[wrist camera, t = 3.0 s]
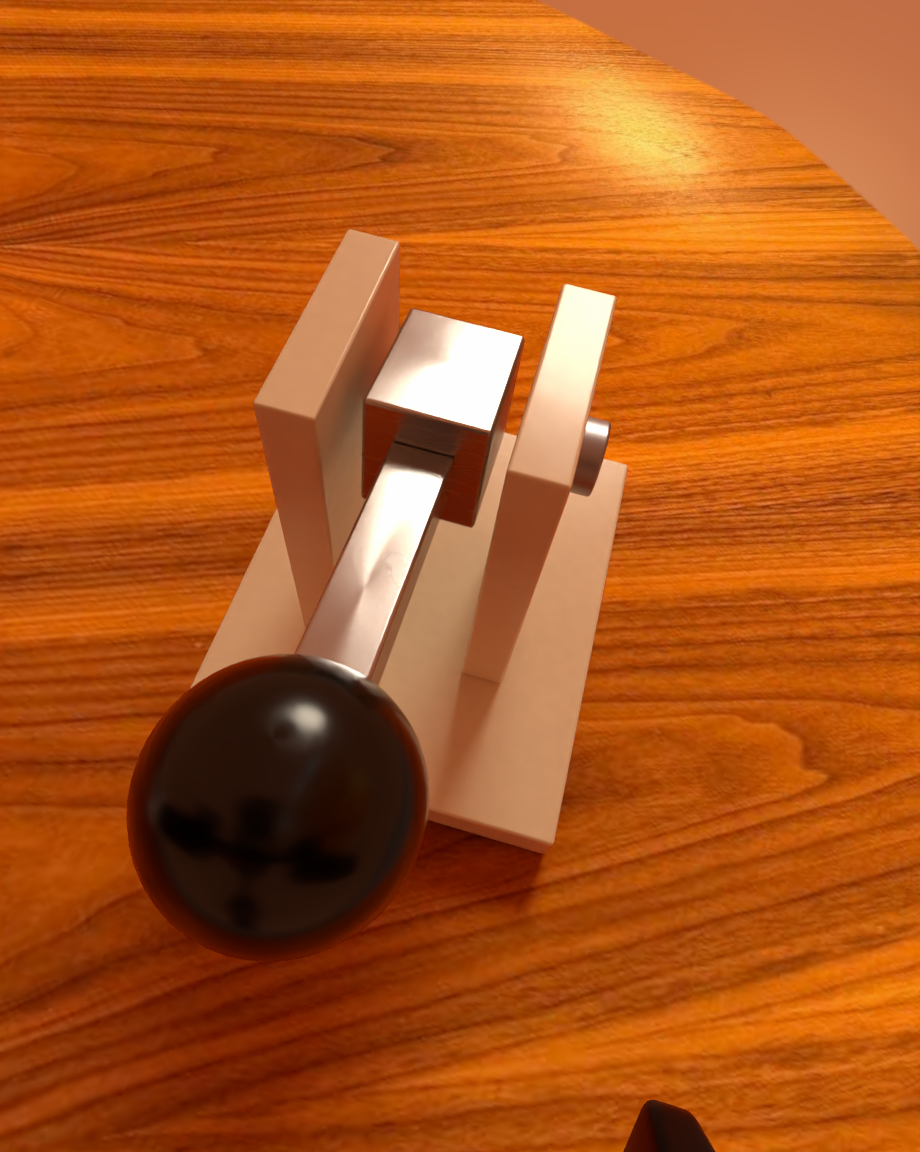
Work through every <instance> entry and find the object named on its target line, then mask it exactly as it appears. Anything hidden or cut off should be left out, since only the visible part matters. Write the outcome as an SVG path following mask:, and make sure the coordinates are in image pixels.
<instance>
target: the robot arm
mask: <svg viewBox="0 0 920 1152" xmlns="http://www.w3.org/2000/svg"><path fill="white" fill-rule="evenodd" d="M624 1152H715V1150H714V1148H713V1147H712V1145H711V1143H710V1142H709V1140H708V1138H707V1136H706V1135H705V1133H704V1131H703V1130H702V1128H701V1126H700V1124H699V1123H698V1121H697V1120H696V1118H695V1117H694V1116H693V1115H692V1114H691V1113H690V1112H689V1111H687V1110H685V1109H682V1108H679V1107H676V1106H673V1105H669V1104H666V1103H663V1102H660V1101H657V1100H649V1101H647V1102H646V1103H645V1104H644V1106H643V1107H642V1109H641V1111H640V1113H639V1116H638V1118H637V1121H636V1123H635V1125H634V1128H633V1130H632V1133H631V1135H630V1137H629V1140H628V1142H627V1144H626V1147H625V1149H624Z"/></svg>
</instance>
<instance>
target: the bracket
mask: <svg viewBox="0 0 920 1152" xmlns="http://www.w3.org/2000/svg"><path fill="white" fill-rule="evenodd" d="M399 280H400V243H399V242H398V241H395V240H391V239H387V238H383V237H379V236H375V235H371V234H367V233H363V232H359V231H355V230H351V229H350V230H348V231H347V233H346V234H345V236H344V238H343V240H342V242H341V244H340V245H339V247H338V249H337V251H336V253H335V254H334V256H333V258H332V260H331V262H330V264H329V265H328V267H327V269H326V271H325V273H324V275H323V276H322V278H321V280H320V282H319V284H318V286H317V287H316V289H315V291H314V293H313V295H312V297H311V298H310V300H309V302H308V304H307V306H306V307H305V309H304V311H303V313H302V315H301V317H300V318H299V320H298V322H297V324H296V326H295V328H294V329H293V331H292V333H291V335H290V337H289V339H288V340H287V342H286V344H285V346H284V348H283V350H282V351H281V353H280V355H279V357H278V359H277V361H276V362H275V364H274V366H273V368H272V370H271V371H270V373H269V375H268V377H267V379H266V381H265V382H264V384H263V386H262V388H261V390H260V392H259V393H258V395H257V397H256V399H255V401H254V403H253V406H254V410H255V415H256V419H257V423H258V428H259V432H260V436H261V440H262V445H263V449H264V453H265V458H266V462H267V466H268V471H269V475H270V479H271V483H272V488H273V492H274V496H275V501H276V505H277V508H276V510H275V513H274V515H273V517H272V519H271V521H270V523H269V525H268V527H267V529H266V531H265V533H264V535H263V538H262V540H261V542H260V544H259V546H258V548H257V550H256V552H255V554H254V556H253V558H252V560H251V563H250V565H249V567H248V569H247V571H246V573H245V575H244V577H243V579H242V581H241V583H240V585H239V588H238V590H237V592H236V594H235V596H234V598H233V600H232V602H231V604H230V606H229V608H228V610H227V612H226V615H225V617H224V619H223V621H222V623H221V625H220V627H219V629H218V631H217V633H216V635H215V637H214V640H213V642H212V644H211V646H210V648H209V650H208V652H207V654H206V656H205V658H204V660H203V662H202V665H201V667H200V669H199V671H198V673H197V675H196V677H195V679H194V681H193V683H192V685H191V687H190V688H192V687H193V686H194V685H196V684H197V683H198V682H200V681H201V680H203V679H204V678H206V677H208V676H209V675H211V674H213V673H214V672H216V671H219V670H221V669H223V668H225V667H227V666H229V665H232V664H235V663H238V662H241V661H243V660H246V659H251V658H255V657H259V656H265V655H273V654H294V653H295V651H296V649H297V647H298V645H299V642H300V640H301V638H302V636H303V634H304V632H305V629H306V627H307V625H308V623H309V621H310V619H311V616H312V614H313V612H314V610H315V608H316V606H317V603H318V601H319V599H320V597H321V595H322V593H323V590H324V588H325V586H326V584H327V582H328V580H329V577H330V575H331V573H332V571H333V569H334V567H335V565H336V562H337V560H338V558H339V556H340V554H341V552H342V549H343V547H344V545H345V543H346V541H347V539H348V536H349V534H350V532H351V530H352V528H353V526H354V523H355V521H356V519H357V517H358V515H359V513H360V510H361V508H362V506H363V504H364V502H365V500H366V499H363V498H362V496H361V476H362V419H363V399H364V397H365V395H366V393H367V391H368V389H369V387H370V385H371V384H372V382H373V380H374V378H375V376H376V374H377V372H378V370H379V368H380V366H381V365H382V363H383V361H384V359H385V357H386V355H387V353H388V351H389V349H390V347H391V346H392V344H393V342H394V340H395V338H396V336H397V334H398V332H399ZM616 302H617V299H616V297H615V296H613V295H609V294H605V293H601V292H597V291H593V290H589V289H585V288H581V287H577V286H573V285H569V284H564V285H563V286H562V288H561V291H560V294H559V298H558V301H557V304H556V308H555V311H554V314H553V318H552V321H551V324H550V328H549V331H548V334H547V338H546V341H545V344H544V348H543V351H542V354H541V358H540V361H539V364H538V368H537V371H536V374H535V378H534V381H533V384H532V388H531V391H530V395H529V398H528V401H527V405H526V408H525V411H524V415H523V418H522V421H521V425H520V428H519V431H518V435H517V436H516V435H512V434H508V433H504V436H503V439H502V442H501V445H500V448H499V451H498V454H497V458H496V461H495V464H494V467H493V470H492V473H491V476H490V479H489V482H488V485H487V488H486V491H485V494H484V497H483V500H482V503H481V507H480V510H479V513H478V516H477V519H476V522H475V525H474V526H473V527H472V528H469V527H465V526H461V525H458V524H454V523H450V522H447V521H443V520H439V523H438V525H437V528H436V531H435V534H434V536H433V539H432V542H431V544H430V547H429V550H428V553H427V555H426V558H425V561H424V563H423V566H422V569H421V572H420V574H419V577H418V580H417V582H416V585H415V588H414V591H413V593H412V596H411V599H410V601H409V604H408V607H407V610H406V612H405V615H404V618H403V620H402V623H401V626H400V629H399V631H398V634H397V637H396V639H395V642H394V645H393V648H392V650H391V653H390V656H389V658H388V661H387V664H386V667H385V669H384V672H383V675H382V678H381V680H380V683H379V687H380V688H382V689H383V690H384V691H385V692H386V693H387V694H388V695H389V696H390V697H391V698H392V699H393V701H394V702H395V703H396V704H397V705H398V706H399V708H400V709H401V710H402V712H403V713H404V715H405V716H406V718H407V719H408V721H409V722H410V724H411V726H412V728H413V730H414V732H415V734H416V736H417V738H418V740H419V743H420V746H421V749H422V752H423V755H424V759H425V762H426V767H427V772H428V778H429V794H430V799H429V813H428V820H430V821H433V822H436V823H440V824H443V825H447V826H450V827H453V828H457V829H460V830H463V831H467V832H470V833H473V834H477V835H480V836H484V837H487V838H490V839H494V840H497V841H500V842H504V843H507V844H511V845H514V846H517V847H521V848H524V849H527V850H531V851H534V852H538V853H541V854H542V853H545V852H546V851H547V850H548V849H549V848H550V847H551V846H552V845H553V844H554V841H555V835H556V830H557V825H558V820H559V815H560V810H561V805H562V800H563V795H564V790H565V785H566V780H567V775H568V769H569V764H570V759H571V754H572V749H573V744H574V739H575V734H576V729H577V724H578V719H579V714H580V709H581V703H582V698H583V693H584V688H585V683H586V678H587V673H588V668H589V663H590V658H591V653H592V648H593V643H594V638H595V632H596V627H597V622H598V617H599V612H600V607H601V602H602V597H603V592H604V587H605V582H606V577H607V572H608V566H609V561H610V556H611V551H612V546H613V541H614V536H615V531H616V526H617V521H618V516H619V511H620V506H621V501H622V495H623V490H624V485H625V480H626V475H627V470H628V466H627V465H626V464H622V463H618V462H614V461H611V460H607V459H604V455H605V451H606V448H607V444H608V439H609V435H610V429H611V424H610V422H608V421H605V420H601V419H597V418H593V417H589V414H590V409H591V405H592V401H593V397H594V393H595V389H596V385H597V380H598V376H599V372H600V368H601V364H602V360H603V355H604V351H605V347H606V343H607V339H608V335H609V331H610V326H611V322H612V318H613V314H614V310H615V306H616Z"/></svg>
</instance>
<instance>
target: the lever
mask: <svg viewBox="0 0 920 1152" xmlns="http://www.w3.org/2000/svg"><path fill="white" fill-rule="evenodd" d="M524 342H525V341H524V337H523V336H520V335H516V334H512V333H508V332H504V331H500V330H497V329H493V328H489V327H485V326H481V325H477V324H473V323H469V322H465V321H461V320H457V319H454V318H450V317H446V316H442V315H438V314H434V313H430V312H426V311H422V310H418V309H411V310H410V311H409V313H408V315H407V317H406V319H405V321H404V323H403V325H402V327H401V328H400V330H399V332H398V334H397V336H396V338H395V340H394V342H393V344H392V346H391V347H390V349H389V351H388V353H387V355H386V357H385V359H384V361H383V363H382V365H381V366H380V368H379V370H378V372H377V374H376V376H375V378H374V380H373V382H372V384H371V385H370V387H369V389H368V391H367V393H366V395H365V397H364V399H363V419H362V476H361V496H362V498H363V499H366V500H365V502H364V504H363V506H362V508H361V510H360V513H359V515H358V517H357V519H356V521H355V523H354V526H353V528H352V530H351V532H350V534H349V536H348V539H347V541H346V543H345V545H344V547H343V549H342V552H341V554H340V556H339V558H338V560H337V562H336V565H335V567H334V569H333V571H332V573H331V575H330V577H329V580H328V582H327V584H326V586H325V588H324V590H323V593H322V595H321V597H320V599H319V601H318V603H317V606H316V608H315V610H314V612H313V614H312V616H311V619H310V621H309V623H308V625H307V627H306V629H305V632H304V634H303V636H302V638H301V640H300V642H299V645H298V647H297V649H296V651H295V653H294V654H273V655H265V656H259V657H255V658H251V659H246V660H243V661H241V662H238V663H235V664H232V665H229V666H227V667H225V668H223V669H221V670H219V671H216V672H214V673H213V674H211V675H209V676H208V677H206V678H204V679H203V680H201V681H200V682H198V683H197V684H196V685H194V686H193V687H192V688H190V689H189V690H188V691H187V692H185V693H184V694H183V695H182V696H181V697H180V698H179V699H178V700H177V701H176V702H175V703H174V704H173V705H172V706H171V707H170V708H169V709H168V711H167V712H166V713H165V714H164V716H163V717H162V718H161V719H160V720H159V722H158V723H157V724H156V726H155V728H154V729H153V731H152V732H151V734H150V735H149V737H148V738H147V740H146V743H145V745H144V747H143V749H142V751H141V753H140V755H139V758H138V761H137V764H136V767H135V770H134V773H133V776H132V779H131V784H130V789H129V794H128V800H127V831H128V841H129V848H130V852H131V856H132V860H133V864H134V867H135V869H136V871H137V874H138V876H139V878H140V881H141V883H142V885H143V887H144V889H145V891H146V892H147V894H148V896H149V897H150V899H151V900H152V902H153V904H154V905H155V907H156V908H157V909H158V910H159V911H160V912H161V914H162V915H163V916H164V917H165V918H166V919H167V920H168V922H170V923H171V924H172V925H173V926H174V927H176V928H177V929H178V930H179V931H180V932H182V933H183V934H184V935H185V936H187V937H188V938H190V939H192V940H193V941H195V942H197V943H198V944H200V945H202V946H204V947H205V948H207V949H210V950H212V951H215V952H217V953H220V954H222V955H225V956H229V957H234V958H238V959H242V960H249V961H261V962H272V961H287V960H292V959H297V958H302V957H307V956H310V955H313V954H316V953H319V952H322V951H325V950H328V949H330V948H332V947H334V946H336V945H338V944H340V943H342V942H344V941H346V940H348V939H349V938H351V937H352V936H354V935H355V934H357V933H358V932H360V931H361V930H363V929H364V928H365V927H367V926H368V925H369V924H370V923H371V922H372V921H373V920H375V919H376V918H377V917H378V916H379V915H380V914H381V913H382V912H383V911H384V910H385V909H386V908H387V906H388V905H389V904H390V903H391V902H392V901H393V900H394V898H395V897H396V896H397V894H398V893H399V891H400V890H401V888H402V887H403V885H404V884H405V882H406V880H407V878H408V877H409V875H410V873H411V871H412V869H413V867H414V865H415V863H416V861H417V858H418V856H419V853H420V850H421V847H422V844H423V841H424V837H425V833H426V828H427V823H428V813H429V799H430V794H429V778H428V772H427V767H426V762H425V759H424V755H423V752H422V749H421V746H420V743H419V740H418V738H417V736H416V734H415V732H414V730H413V728H412V726H411V724H410V722H409V721H408V719H407V718H406V716H405V715H404V713H403V712H402V710H401V709H400V708H399V706H398V705H397V704H396V703H395V702H394V701H393V699H392V698H391V697H390V696H389V695H388V694H387V693H386V692H385V691H384V690H383V689H382V688H380V687H379V683H380V680H381V678H382V675H383V672H384V669H385V667H386V664H387V661H388V658H389V656H390V653H391V650H392V648H393V645H394V642H395V639H396V637H397V634H398V631H399V629H400V626H401V623H402V620H403V618H404V615H405V612H406V610H407V607H408V604H409V601H410V599H411V596H412V593H413V591H414V588H415V585H416V582H417V580H418V577H419V574H420V572H421V569H422V566H423V563H424V561H425V558H426V555H427V553H428V550H429V547H430V544H431V542H432V539H433V536H434V534H435V531H436V528H437V525H438V523H439V520H443V521H447V522H450V523H454V524H458V525H461V526H465V527H469V528H472V527H473V526H474V525H475V522H476V519H477V516H478V513H479V510H480V507H481V503H482V500H483V497H484V494H485V491H486V488H487V485H488V482H489V479H490V476H491V473H492V470H493V467H494V464H495V461H496V458H497V454H498V451H499V448H500V445H501V442H502V439H503V436H504V433H505V429H506V424H507V419H508V415H509V410H510V406H511V401H512V397H513V392H514V388H515V383H516V378H517V374H518V369H519V365H520V360H521V356H522V351H523V347H524Z"/></svg>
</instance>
